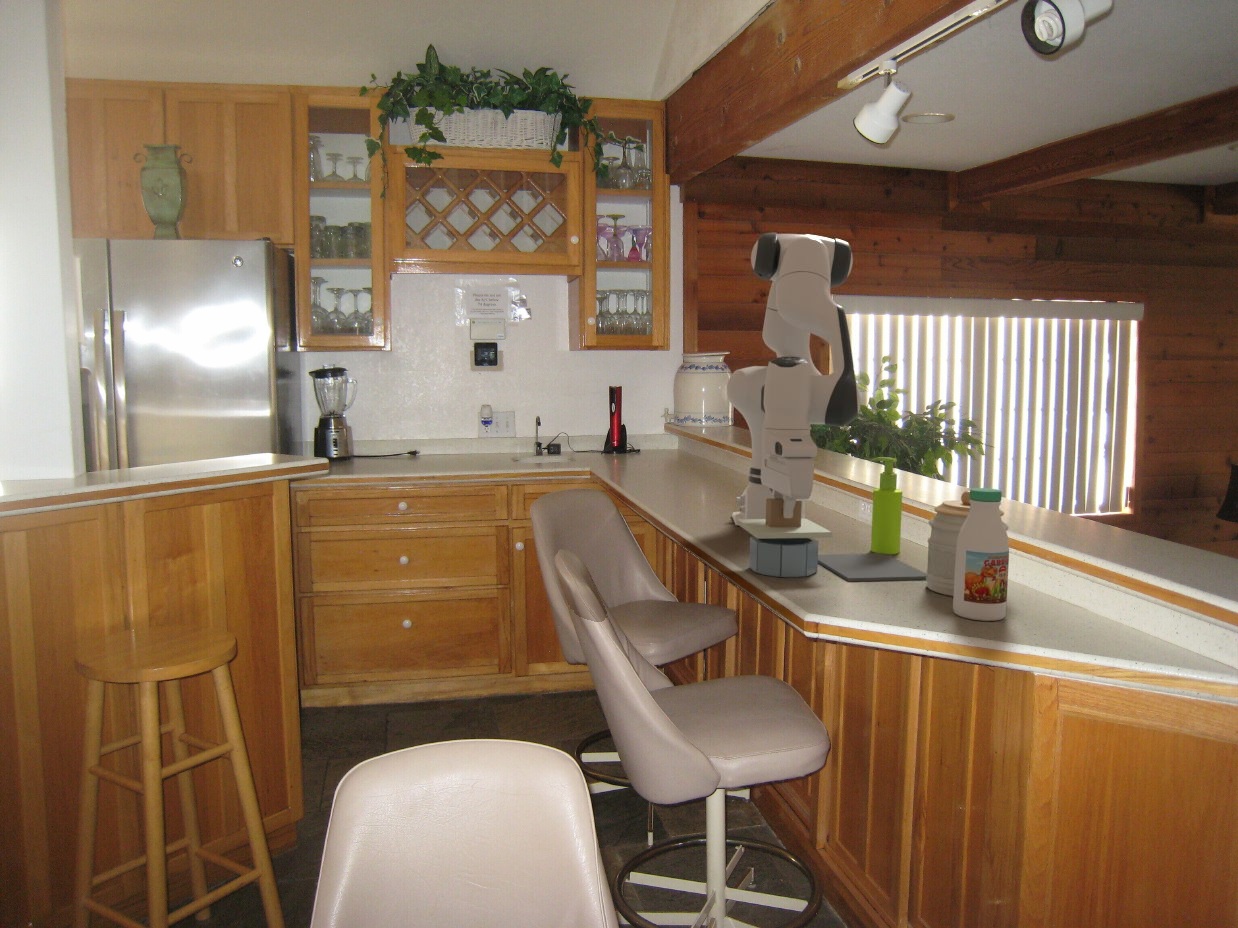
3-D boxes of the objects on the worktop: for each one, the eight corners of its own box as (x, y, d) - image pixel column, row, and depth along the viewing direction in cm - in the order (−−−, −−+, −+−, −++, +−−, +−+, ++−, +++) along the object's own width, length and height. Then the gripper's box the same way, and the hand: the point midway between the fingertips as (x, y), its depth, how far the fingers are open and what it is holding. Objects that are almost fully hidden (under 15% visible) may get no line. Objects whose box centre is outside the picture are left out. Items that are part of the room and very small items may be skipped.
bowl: (744, 563, 171) (744, 533, 171) (802, 562, 173) (803, 532, 172) (761, 578, 159) (762, 546, 159) (824, 576, 161) (825, 544, 160)
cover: (737, 524, 172) (738, 494, 171) (805, 523, 173) (806, 493, 173) (757, 538, 158) (758, 506, 157) (831, 537, 160) (832, 505, 159)
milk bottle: (944, 614, 137) (950, 489, 134) (965, 605, 142) (971, 484, 140) (993, 625, 131) (1000, 494, 129) (1013, 615, 136) (1021, 489, 134)
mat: (809, 557, 177) (809, 554, 177) (884, 556, 179) (884, 553, 179) (848, 581, 158) (848, 578, 157) (931, 579, 160) (931, 576, 160)
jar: (1021, 594, 150) (1027, 493, 148) (971, 603, 143) (976, 498, 141) (958, 578, 161) (963, 484, 159) (909, 586, 154) (913, 488, 153)
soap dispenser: (872, 546, 189) (876, 455, 187) (904, 551, 185) (908, 457, 182) (861, 550, 184) (865, 457, 182) (893, 555, 180) (897, 459, 178)
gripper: (754, 438, 173) (752, 506, 175) (786, 448, 153) (784, 525, 155) (784, 438, 174) (782, 506, 176) (821, 448, 154) (818, 525, 156)
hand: (783, 515), depth 165 cm, fingers closed on cover, 3 cm apart
